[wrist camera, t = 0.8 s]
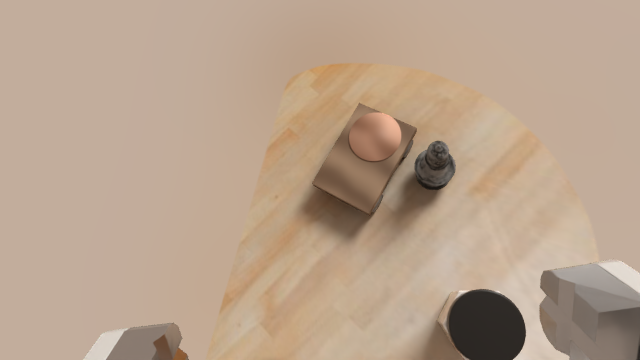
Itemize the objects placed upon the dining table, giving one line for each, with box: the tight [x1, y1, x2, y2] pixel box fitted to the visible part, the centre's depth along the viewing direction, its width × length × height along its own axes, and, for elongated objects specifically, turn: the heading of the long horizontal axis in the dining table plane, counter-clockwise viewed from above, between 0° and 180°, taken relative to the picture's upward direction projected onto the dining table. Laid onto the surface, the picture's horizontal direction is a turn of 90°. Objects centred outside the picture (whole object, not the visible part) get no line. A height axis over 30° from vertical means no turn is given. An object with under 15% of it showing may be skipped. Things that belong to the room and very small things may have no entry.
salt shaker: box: [415, 141, 456, 190], centre depth 57 cm, size 6×6×12 cm
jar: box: [437, 289, 526, 360], centre depth 50 cm, size 9×8×12 cm
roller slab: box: [312, 103, 417, 216], centre depth 63 cm, size 15×10×5 cm, turn 149°
